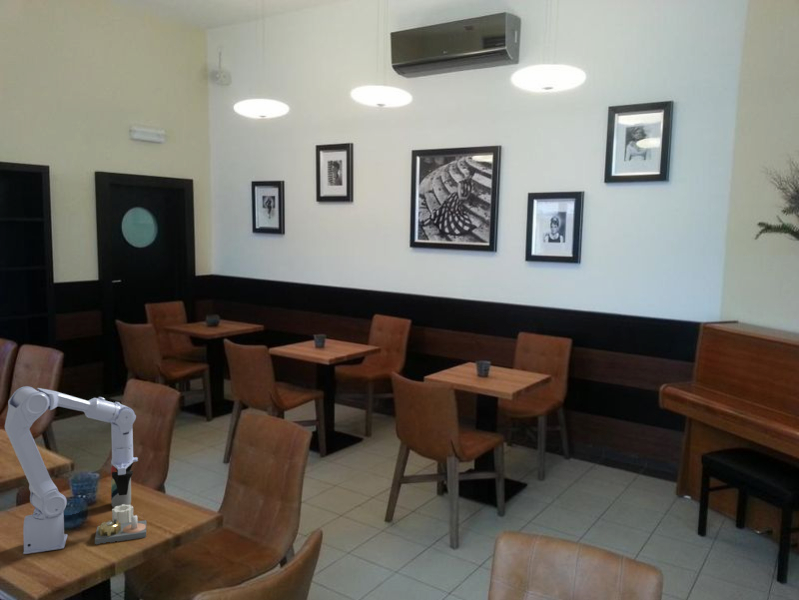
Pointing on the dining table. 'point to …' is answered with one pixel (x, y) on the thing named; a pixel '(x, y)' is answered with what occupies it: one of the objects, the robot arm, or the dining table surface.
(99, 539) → the board
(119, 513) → the loose gear
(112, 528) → the gear
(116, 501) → the lotion bottle
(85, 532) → the dining table surface
